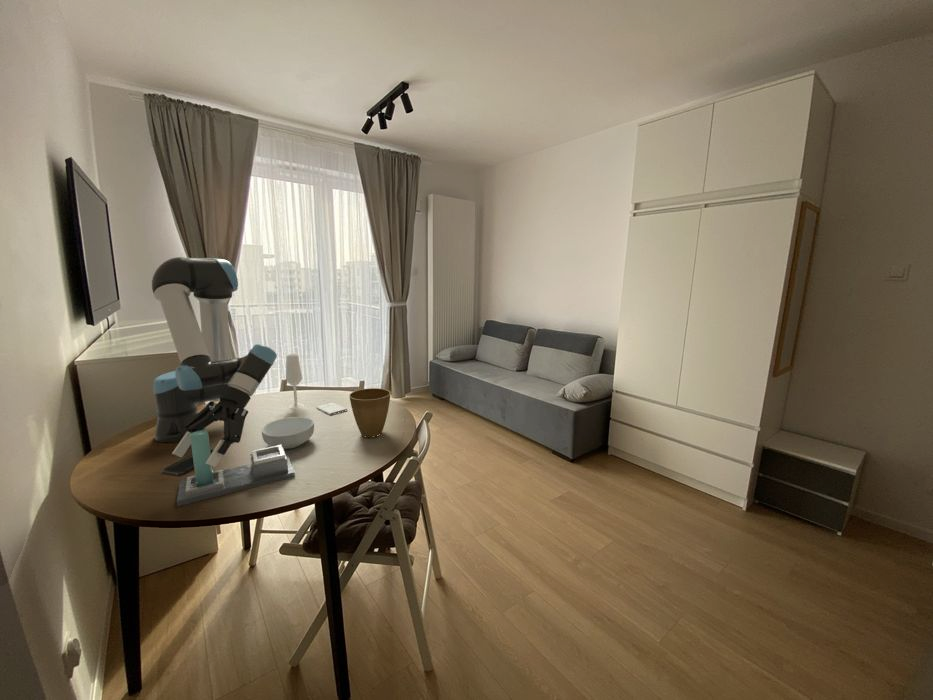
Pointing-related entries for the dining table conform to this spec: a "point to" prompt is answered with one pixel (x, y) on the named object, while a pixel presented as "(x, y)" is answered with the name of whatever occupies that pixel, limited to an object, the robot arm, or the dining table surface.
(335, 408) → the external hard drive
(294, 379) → the champagne flute
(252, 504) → the dining table surface
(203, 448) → the plug
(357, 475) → the dining table surface
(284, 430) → the cereal bowl
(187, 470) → the phone
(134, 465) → the dining table surface
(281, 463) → the grey slotted holder
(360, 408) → the plant pot
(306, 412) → the dining table surface
